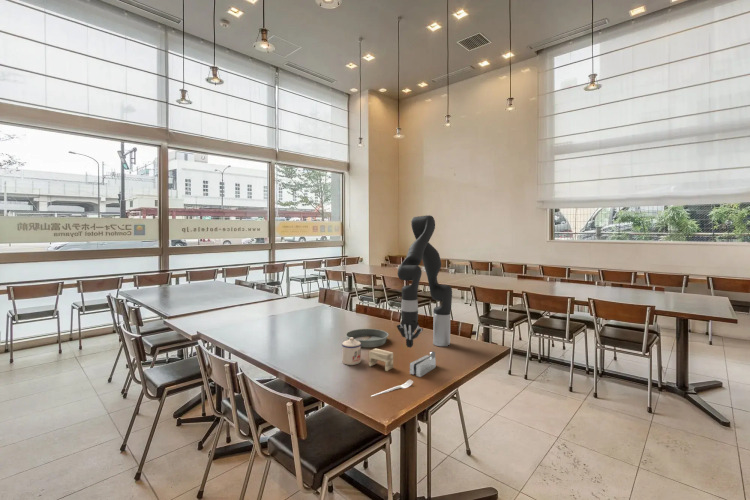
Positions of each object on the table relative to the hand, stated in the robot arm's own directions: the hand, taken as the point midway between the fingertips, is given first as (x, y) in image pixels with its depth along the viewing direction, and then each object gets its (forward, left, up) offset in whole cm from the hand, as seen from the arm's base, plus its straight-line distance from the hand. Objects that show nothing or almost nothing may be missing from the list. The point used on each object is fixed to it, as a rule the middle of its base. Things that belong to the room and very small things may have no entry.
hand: (409, 346), depth 162 cm
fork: (+23, +6, -11) cm, 26 cm away
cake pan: (-21, -40, -10) cm, 46 cm away
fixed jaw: (-1, +8, -10) cm, 13 cm away
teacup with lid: (+8, -26, -10) cm, 29 cm away
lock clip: (+6, -11, -10) cm, 16 cm away
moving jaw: (-3, +6, -10) cm, 11 cm away
